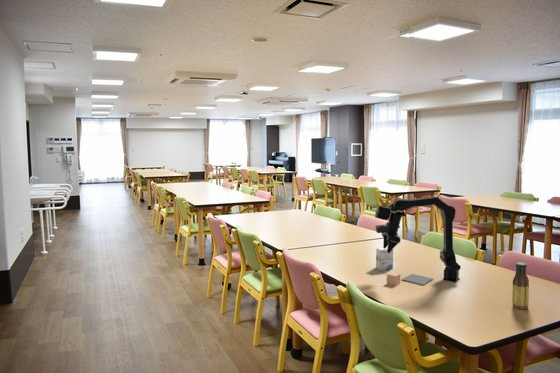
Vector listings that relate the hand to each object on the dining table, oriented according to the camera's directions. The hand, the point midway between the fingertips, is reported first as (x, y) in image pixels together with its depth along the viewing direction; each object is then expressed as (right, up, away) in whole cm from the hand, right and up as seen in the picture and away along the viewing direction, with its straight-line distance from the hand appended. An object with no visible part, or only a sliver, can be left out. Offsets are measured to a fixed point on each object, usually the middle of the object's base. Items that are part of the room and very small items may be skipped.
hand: (386, 250), depth 218 cm
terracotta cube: (+2, -16, -5) cm, 17 cm away
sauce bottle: (+49, -19, -37) cm, 65 cm away
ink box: (+4, -14, +20) cm, 25 cm away
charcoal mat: (+16, -15, -1) cm, 22 cm away
